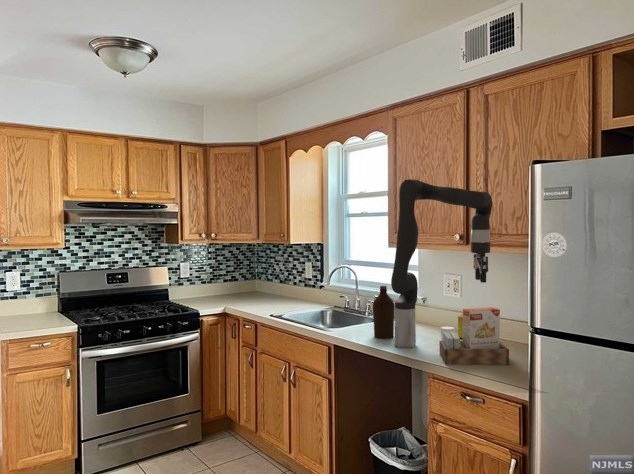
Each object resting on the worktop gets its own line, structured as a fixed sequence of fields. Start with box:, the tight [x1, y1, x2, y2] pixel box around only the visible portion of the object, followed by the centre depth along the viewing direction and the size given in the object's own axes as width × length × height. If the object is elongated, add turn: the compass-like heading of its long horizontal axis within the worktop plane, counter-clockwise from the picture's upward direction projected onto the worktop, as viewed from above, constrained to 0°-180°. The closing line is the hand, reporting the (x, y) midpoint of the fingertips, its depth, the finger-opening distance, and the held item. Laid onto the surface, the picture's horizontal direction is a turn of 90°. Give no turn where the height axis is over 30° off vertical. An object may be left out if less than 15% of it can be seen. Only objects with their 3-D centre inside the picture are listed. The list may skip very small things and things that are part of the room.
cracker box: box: [461, 306, 501, 349], centre depth 200 cm, size 14×6×21 cm, turn 106°
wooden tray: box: [439, 340, 510, 366], centre depth 201 cm, size 24×14×6 cm, turn 85°
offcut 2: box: [450, 331, 461, 349], centre depth 201 cm, size 2×11×10 cm, turn 175°
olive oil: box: [372, 285, 395, 340], centre depth 242 cm, size 11×11×25 cm
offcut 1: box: [443, 332, 453, 349], centre depth 202 cm, size 2×11×10 cm, turn 175°
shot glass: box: [439, 325, 456, 341], centre depth 229 cm, size 7×7×7 cm
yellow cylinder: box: [457, 314, 463, 340], centre depth 236 cm, size 6×6×11 cm
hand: (480, 281), depth 200 cm, fingers open, 8 cm apart
